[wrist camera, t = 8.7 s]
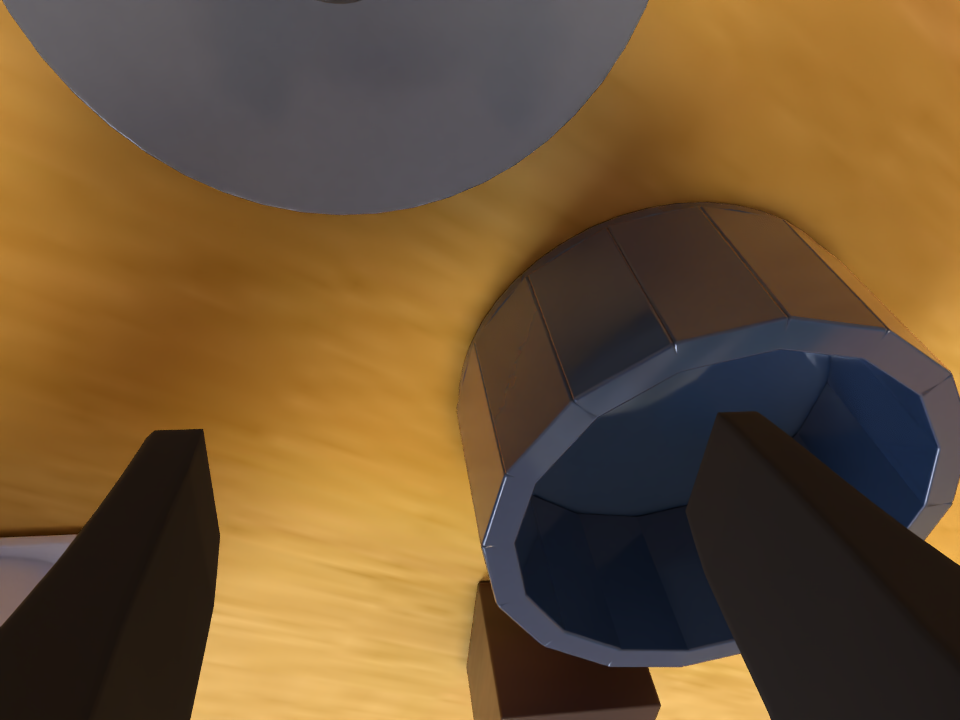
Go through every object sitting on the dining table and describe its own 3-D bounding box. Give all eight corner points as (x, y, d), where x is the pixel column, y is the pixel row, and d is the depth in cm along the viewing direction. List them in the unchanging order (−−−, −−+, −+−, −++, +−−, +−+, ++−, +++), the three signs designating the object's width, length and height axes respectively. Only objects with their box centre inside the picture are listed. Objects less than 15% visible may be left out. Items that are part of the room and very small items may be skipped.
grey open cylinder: (493, 554, 27) (522, 704, 23) (418, 258, 20) (440, 395, 16) (830, 477, 27) (923, 613, 23) (875, 156, 20) (1021, 265, 16)
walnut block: (466, 666, 31) (485, 802, 27) (477, 581, 28) (501, 719, 24) (592, 657, 31) (629, 787, 28) (617, 573, 29) (662, 705, 25)
